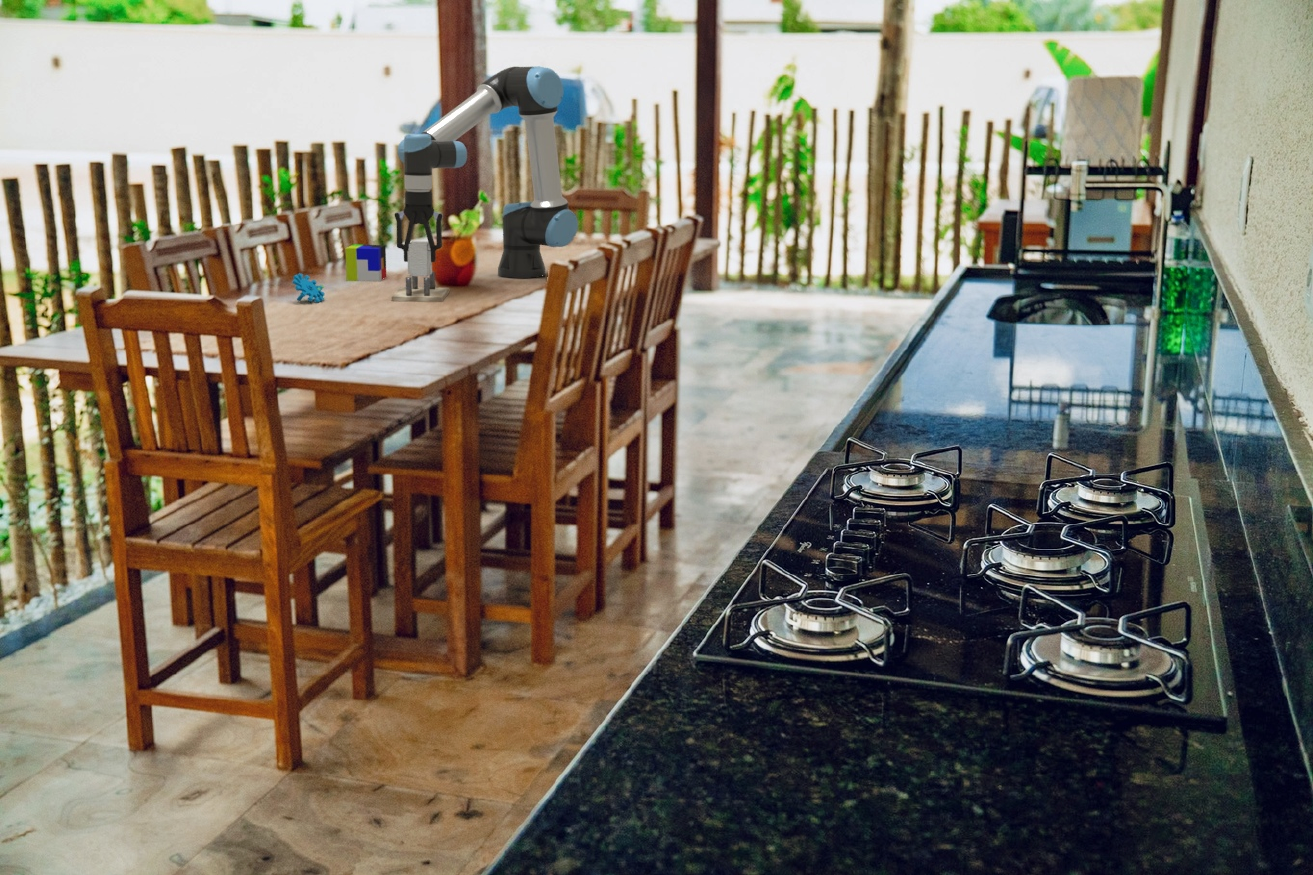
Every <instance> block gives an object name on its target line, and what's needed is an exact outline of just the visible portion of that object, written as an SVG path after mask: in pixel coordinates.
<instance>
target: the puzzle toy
mask: <svg viewBox="0 0 1313 875" xmlns="http://www.w3.org/2000/svg"><path fill="white" fill-rule="evenodd" d="M386 248H387V247H386V245H384V244H383V245H382V244H355V243H354V244H351V245H350V246H347V247H346V248H344V249H345V251H344V252H345V269H346V270H345V272H346V275H345V276H346V282H372V281H378V282H379V281H380V282H381V281H383V280H384V279H386V278H387V257H386V256H387V253H386V252H387V249H386ZM383 278H384V279H383ZM382 279H383V280H382Z"/></svg>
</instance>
